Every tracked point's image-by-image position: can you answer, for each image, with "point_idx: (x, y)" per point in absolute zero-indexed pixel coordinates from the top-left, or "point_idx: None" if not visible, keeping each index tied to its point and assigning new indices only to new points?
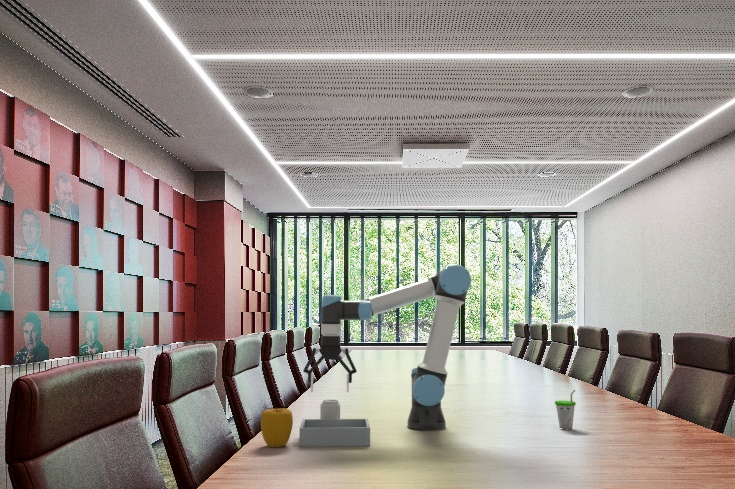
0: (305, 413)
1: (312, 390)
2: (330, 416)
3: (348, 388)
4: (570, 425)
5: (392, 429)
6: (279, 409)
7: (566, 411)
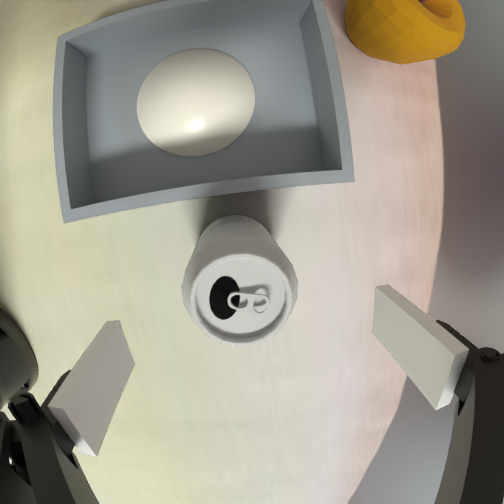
0: (332, 469)
1: (381, 291)
2: (229, 226)
3: (98, 334)
4: None
5: (51, 319)
6: (432, 13)
7: None
